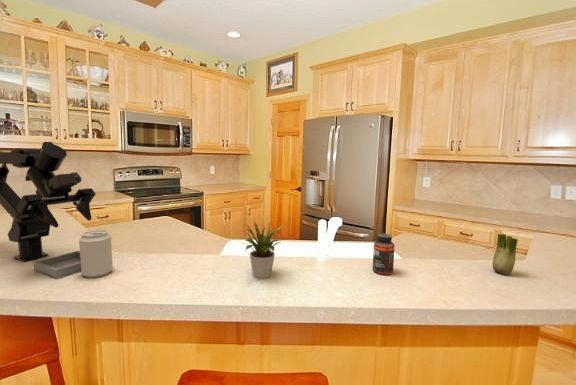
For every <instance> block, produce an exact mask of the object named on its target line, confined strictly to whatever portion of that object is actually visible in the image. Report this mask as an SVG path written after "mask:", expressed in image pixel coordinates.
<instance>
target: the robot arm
mask: <svg viewBox="0 0 576 385" xmlns="http://www.w3.org/2000/svg"><path fill="white" fill-rule="evenodd" d="M66 157H67V151H66V149H64V148H63V147H61V146H59V145H56V144H54V142H52V141H43V142H42V145H41V148H35V147H34V148H31V147H30V148H29V147H28V148H26V147H25V148H24V147H23V148H21V147H17V148H14V149H11V150H10V151H3V150H2V151H0V165H1V166H0V205H1V206H2V207H3V209H4V210H5V211H6V213H7V214H8V215H10V217H11V218H12V224H11V228H10V229H9V231H8V232H7V237H8V240H9V242H14V243H17V247H18V248H17V250H18V255H14V259H16V260H18V261H21V262H29V261H31V260H36V259H40V258H43V257H47V256H49V254H48V253H46V252H44V250H43V242H42V237H48V236H49V235H50V229H51V227H54V228H58V227H59V223H58V221H57V219H56V218H55V216H54V215H53V214H52V212H51V210H50V209H49V207H48V206H51V205H54V206H55V205H61V204H67V203H72V204H73V205H74V206H76V207H75V210H77V211H78V212H79V213H80V214H81V215H82V216H83V218H85V219H86V220H87V221H91V220H92V214H91V209H90V204H91V202H92V201H93V199H94V197H95V196H96V192H95V190H94V189H93V188H92V187H91V188H89V187H87V188H81V189H78V190H76V192H75V194H70V193H71V192H72V191H73V189H72V187H74V186H77V185H78V184H79V183H81V182H82V177H81V176H80V174H79V173H78V172H77V171H74V172H70V173H60V174H55V173H54V172H56V171H58V170H60V167H61V166H62V164H63V162H65V161H64V160H65V159H66ZM8 164H9V165H11V166H12V167H16V168H18V169H26V168H27V171H26V175H25V182H31V183H32V184H33V185H34V186H35V189H36V190H35V194H34V193H32V194H24V195H23V196H21V197H20V196H19V195H18V194H17V193H16V191H14V189H13V188H12V187H11V186H10V185H9V184H8V183H7V179H8V175H9V172H10V169H9V168H8V166H7V165H8Z"/></svg>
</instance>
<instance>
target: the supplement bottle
mask: <svg viewBox="0 0 576 385" xmlns="http://www.w3.org/2000/svg"><path fill="white" fill-rule="evenodd" d="M376 238H377V239H376V240H375V241H374V243H373V250H372V251H373V252H372V255H373V256H372V271H373V272H374V273H376V274H377V275H384V276H389V275H392V274H393V273H394V262H395V244H394V242H392V239H393V237H392V235H391V234H388V233H378V234H377V237H376Z"/></svg>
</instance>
